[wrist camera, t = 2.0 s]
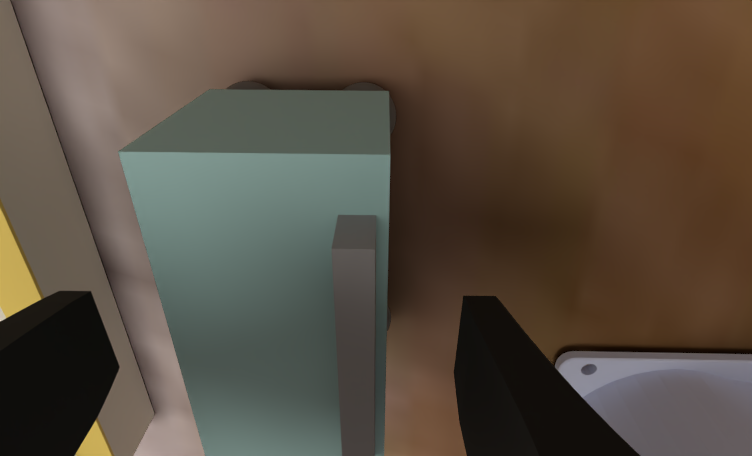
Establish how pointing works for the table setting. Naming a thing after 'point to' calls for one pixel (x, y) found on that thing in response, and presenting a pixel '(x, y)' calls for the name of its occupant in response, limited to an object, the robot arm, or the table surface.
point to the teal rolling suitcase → (273, 263)
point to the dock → (55, 238)
